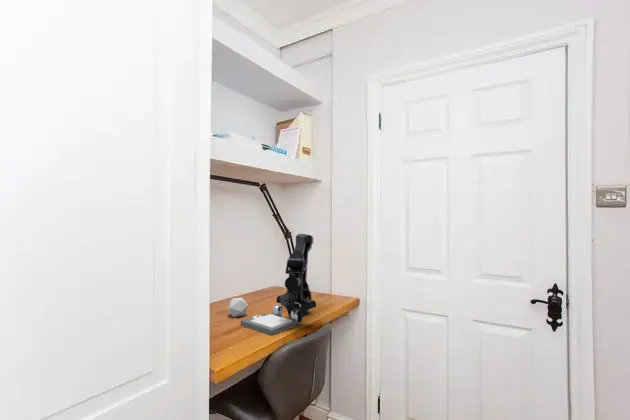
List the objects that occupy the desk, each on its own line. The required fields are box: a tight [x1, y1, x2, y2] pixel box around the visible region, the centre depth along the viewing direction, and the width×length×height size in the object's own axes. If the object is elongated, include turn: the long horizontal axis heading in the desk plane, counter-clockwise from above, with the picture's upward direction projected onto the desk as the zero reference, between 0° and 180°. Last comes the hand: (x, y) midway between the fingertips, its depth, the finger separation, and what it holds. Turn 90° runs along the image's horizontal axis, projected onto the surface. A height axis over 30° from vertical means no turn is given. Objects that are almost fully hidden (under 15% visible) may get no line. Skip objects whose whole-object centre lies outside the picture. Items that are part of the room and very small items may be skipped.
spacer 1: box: [272, 304, 284, 317], centre depth 152 cm, size 4×4×6 cm
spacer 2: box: [291, 308, 302, 326], centre depth 145 cm, size 4×4×6 cm
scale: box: [240, 313, 296, 336], centre depth 142 cm, size 14×19×3 cm
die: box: [226, 297, 249, 318], centre depth 156 cm, size 8×9×10 cm
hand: (295, 321), depth 145 cm, fingers closed on spacer 2, 4 cm apart
